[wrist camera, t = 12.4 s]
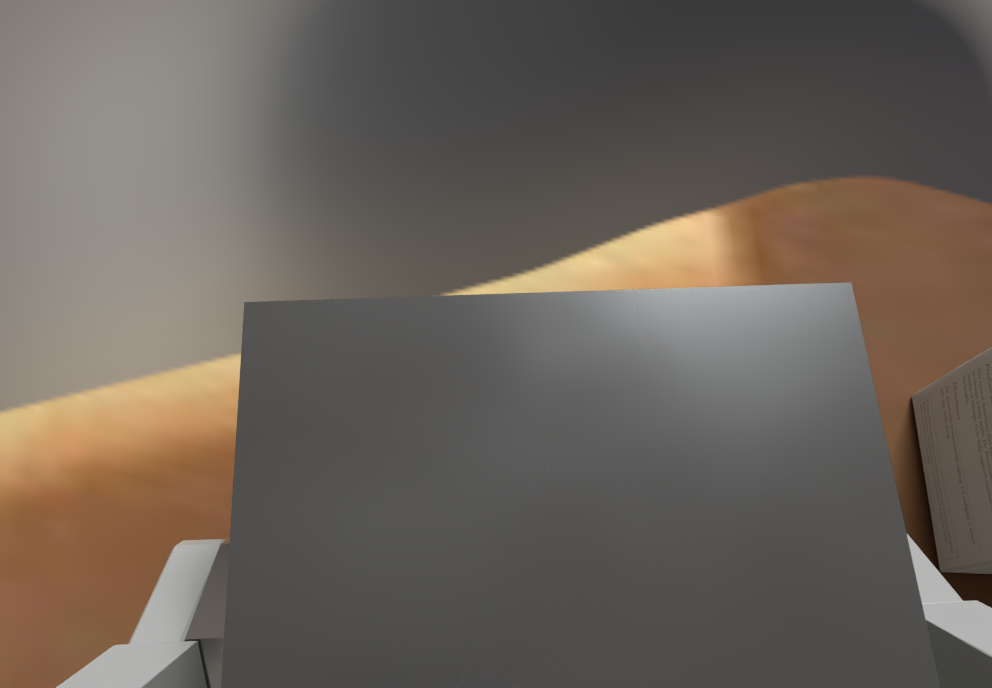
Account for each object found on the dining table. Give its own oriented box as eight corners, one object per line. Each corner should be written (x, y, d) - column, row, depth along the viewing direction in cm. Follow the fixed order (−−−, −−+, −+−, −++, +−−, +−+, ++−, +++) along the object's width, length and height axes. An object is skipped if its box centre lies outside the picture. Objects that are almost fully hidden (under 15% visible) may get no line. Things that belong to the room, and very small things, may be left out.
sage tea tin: (371, 801, 14) (196, 1076, 5) (372, 503, 16) (244, 302, 7) (665, 783, 15) (1013, 1013, 5) (633, 492, 17) (850, 282, 7)
